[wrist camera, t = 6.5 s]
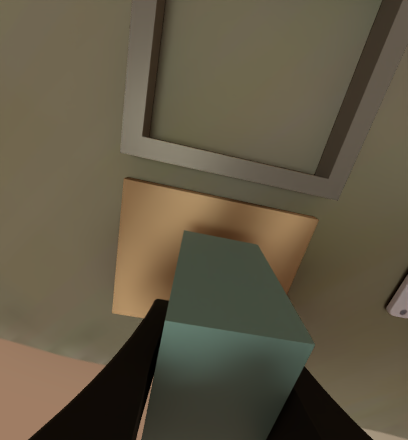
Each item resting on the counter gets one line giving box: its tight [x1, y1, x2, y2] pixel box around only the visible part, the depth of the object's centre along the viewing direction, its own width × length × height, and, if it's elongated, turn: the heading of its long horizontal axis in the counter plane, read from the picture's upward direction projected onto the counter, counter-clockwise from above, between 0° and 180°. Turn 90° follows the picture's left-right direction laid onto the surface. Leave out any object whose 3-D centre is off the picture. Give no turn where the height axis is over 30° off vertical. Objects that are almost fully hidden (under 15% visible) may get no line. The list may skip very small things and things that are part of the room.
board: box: [112, 177, 319, 318], centre depth 15 cm, size 12×10×1 cm
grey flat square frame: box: [120, 0, 408, 201], centre depth 10 cm, size 12×11×2 cm
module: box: [141, 230, 315, 440], centre depth 9 cm, size 4×6×6 cm, turn 168°
